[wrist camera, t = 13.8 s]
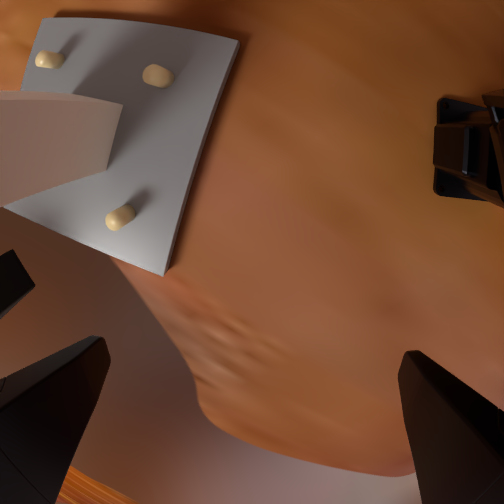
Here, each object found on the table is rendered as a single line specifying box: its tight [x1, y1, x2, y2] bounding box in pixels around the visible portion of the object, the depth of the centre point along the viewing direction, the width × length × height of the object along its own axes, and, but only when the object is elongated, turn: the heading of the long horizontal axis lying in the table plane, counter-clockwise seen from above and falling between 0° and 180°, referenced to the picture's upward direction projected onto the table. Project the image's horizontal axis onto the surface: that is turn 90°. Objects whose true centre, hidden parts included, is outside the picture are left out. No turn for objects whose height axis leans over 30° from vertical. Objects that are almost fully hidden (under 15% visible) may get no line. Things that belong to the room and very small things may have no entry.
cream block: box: [0, 91, 123, 207], centre depth 12 cm, size 4×4×13 cm
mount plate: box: [3, 18, 240, 276], centre depth 18 cm, size 16×16×3 cm
